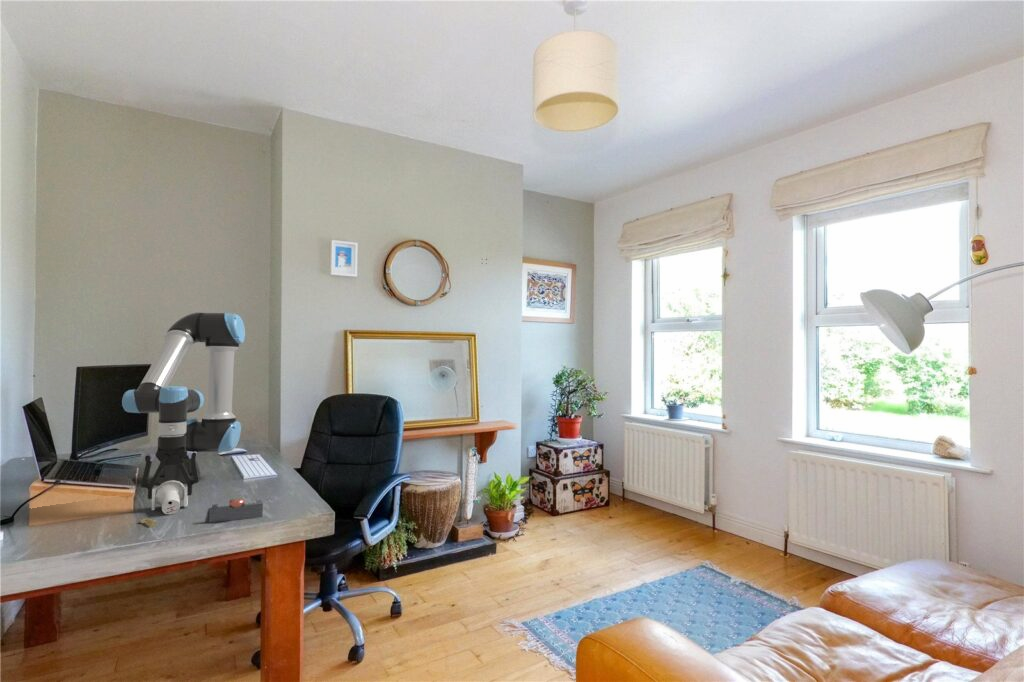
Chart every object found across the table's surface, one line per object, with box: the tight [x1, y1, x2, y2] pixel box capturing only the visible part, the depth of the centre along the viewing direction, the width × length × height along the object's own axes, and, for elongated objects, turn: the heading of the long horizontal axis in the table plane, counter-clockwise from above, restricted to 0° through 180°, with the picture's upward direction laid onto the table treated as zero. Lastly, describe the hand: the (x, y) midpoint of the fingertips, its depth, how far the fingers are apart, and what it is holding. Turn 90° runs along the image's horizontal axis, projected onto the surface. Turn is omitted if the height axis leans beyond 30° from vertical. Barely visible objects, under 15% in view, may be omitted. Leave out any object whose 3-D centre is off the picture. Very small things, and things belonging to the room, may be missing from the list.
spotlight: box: [155, 480, 185, 515], centre depth 161 cm, size 8×11×8 cm
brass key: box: [140, 517, 158, 528], centre depth 149 cm, size 7×3×1 cm, turn 52°
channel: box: [208, 497, 264, 524], centre depth 160 cm, size 16×14×6 cm
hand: (169, 507), depth 163 cm, fingers closed on spotlight, 8 cm apart
